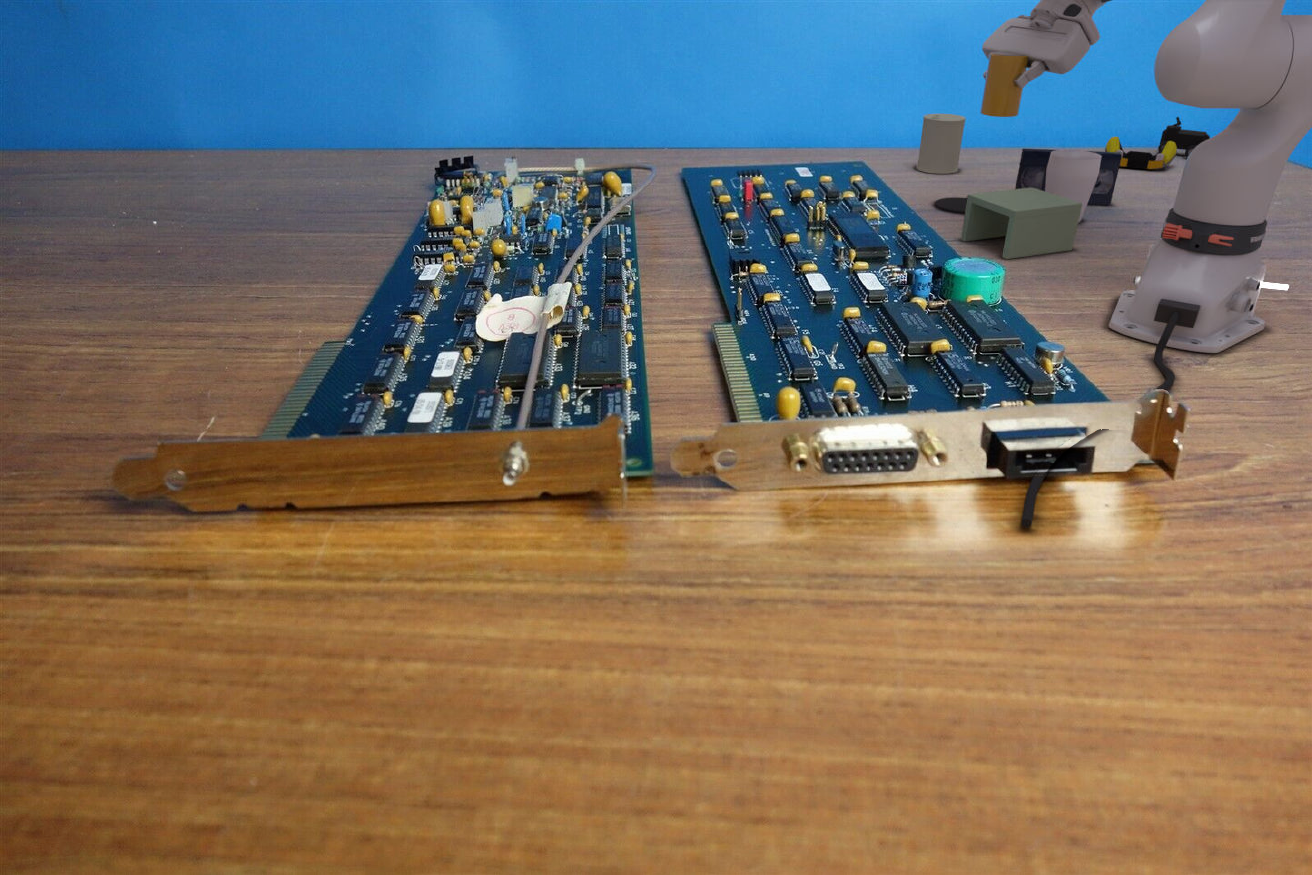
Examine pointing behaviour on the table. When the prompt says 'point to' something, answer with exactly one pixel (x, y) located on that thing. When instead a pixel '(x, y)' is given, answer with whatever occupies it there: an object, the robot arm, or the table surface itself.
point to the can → (940, 143)
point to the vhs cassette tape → (1036, 165)
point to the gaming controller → (1143, 155)
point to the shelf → (1022, 221)
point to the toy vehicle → (1182, 137)
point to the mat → (952, 204)
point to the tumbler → (1003, 84)
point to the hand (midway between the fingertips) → (1001, 82)
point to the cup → (1072, 175)
